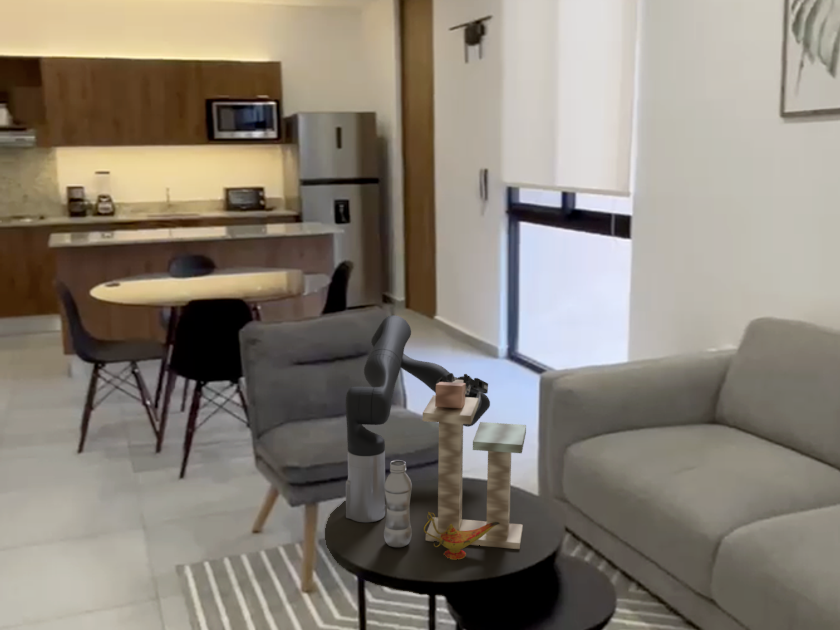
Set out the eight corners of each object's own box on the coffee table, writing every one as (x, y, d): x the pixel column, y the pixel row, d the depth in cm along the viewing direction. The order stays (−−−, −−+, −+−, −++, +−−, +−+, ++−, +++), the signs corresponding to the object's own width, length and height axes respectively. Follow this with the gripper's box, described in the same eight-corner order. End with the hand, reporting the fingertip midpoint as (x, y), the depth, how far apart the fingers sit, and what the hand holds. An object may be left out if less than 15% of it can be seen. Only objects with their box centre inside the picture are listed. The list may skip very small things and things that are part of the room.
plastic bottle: (379, 548, 196) (378, 466, 193) (391, 535, 203) (391, 456, 199) (405, 553, 194) (405, 470, 190) (416, 540, 200) (416, 460, 196)
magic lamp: (504, 556, 193) (505, 511, 190) (426, 564, 189) (427, 518, 187) (494, 543, 199) (495, 498, 197) (420, 550, 195) (420, 505, 193)
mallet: (435, 406, 193) (435, 384, 193) (449, 394, 215) (450, 375, 215) (461, 408, 192) (462, 386, 192) (473, 396, 214) (473, 376, 214)
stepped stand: (421, 544, 198) (422, 412, 192) (432, 518, 212) (433, 395, 206) (518, 553, 194) (522, 419, 188) (523, 526, 208) (526, 400, 201)
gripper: (491, 409, 220) (485, 394, 204) (437, 406, 223) (427, 390, 207) (493, 381, 223) (487, 363, 206) (440, 378, 225) (430, 361, 209)
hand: (457, 377), depth 207 cm, fingers closed on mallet, 3 cm apart
